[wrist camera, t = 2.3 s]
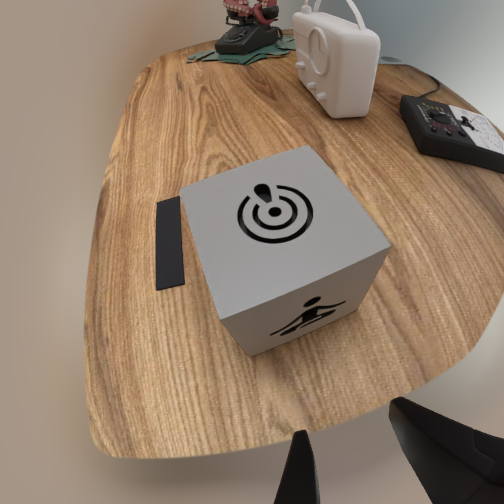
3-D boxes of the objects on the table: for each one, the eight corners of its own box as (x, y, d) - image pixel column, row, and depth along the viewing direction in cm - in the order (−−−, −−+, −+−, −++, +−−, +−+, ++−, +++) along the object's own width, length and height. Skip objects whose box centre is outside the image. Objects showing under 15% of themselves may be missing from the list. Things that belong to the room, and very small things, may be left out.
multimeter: (397, 110, 39) (401, 86, 34) (480, 130, 35) (487, 111, 31) (418, 154, 32) (426, 126, 28) (509, 176, 28) (520, 154, 24)
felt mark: (184, 284, 26) (184, 283, 26) (156, 290, 26) (155, 289, 26) (179, 196, 32) (179, 195, 32) (157, 203, 33) (156, 202, 32)
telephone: (247, 34, 79) (239, -10, 62) (324, 40, 66) (321, -13, 49) (177, 64, 66) (161, 9, 49) (263, 68, 53) (252, -8, 37)
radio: (288, 78, 49) (277, -30, 28) (325, 75, 48) (320, -29, 27) (326, 128, 37) (322, -36, 16) (375, 125, 36) (385, -26, 15)
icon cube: (213, 261, 27) (179, 188, 18) (306, 225, 28) (308, 144, 19) (249, 357, 21) (219, 319, 13) (357, 309, 22) (391, 245, 14)
